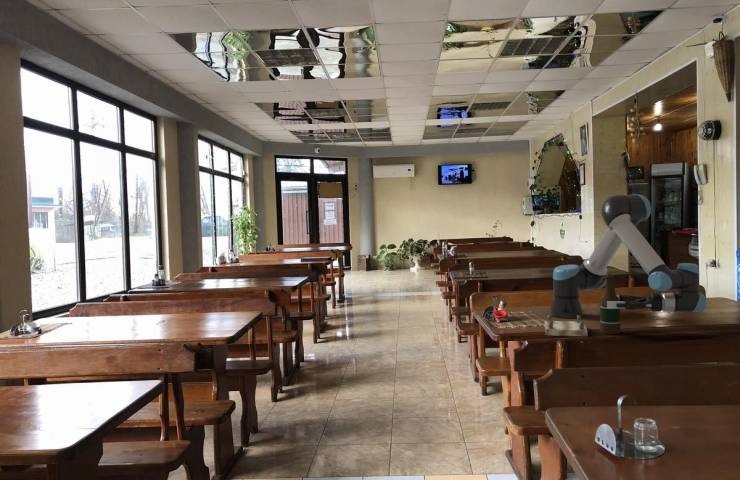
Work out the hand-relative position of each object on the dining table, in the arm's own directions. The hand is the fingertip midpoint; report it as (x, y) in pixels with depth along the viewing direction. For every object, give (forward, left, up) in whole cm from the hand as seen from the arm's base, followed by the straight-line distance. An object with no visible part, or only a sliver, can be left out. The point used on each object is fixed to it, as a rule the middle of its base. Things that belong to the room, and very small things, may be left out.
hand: (604, 301), depth 239 cm
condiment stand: (-11, -11, -13) cm, 20 cm away
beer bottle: (+1, +2, -13) cm, 13 cm away
